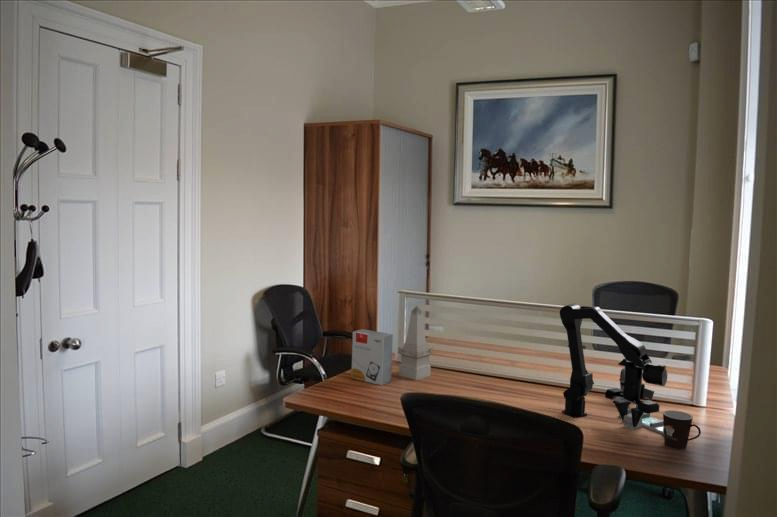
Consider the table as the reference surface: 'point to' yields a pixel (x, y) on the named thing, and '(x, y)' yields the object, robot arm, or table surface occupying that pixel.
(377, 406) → the table surface
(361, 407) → the table surface
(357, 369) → the hard drive box
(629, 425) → the usb wall charger
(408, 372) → the miniature monument
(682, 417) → the coffee mug
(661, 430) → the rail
